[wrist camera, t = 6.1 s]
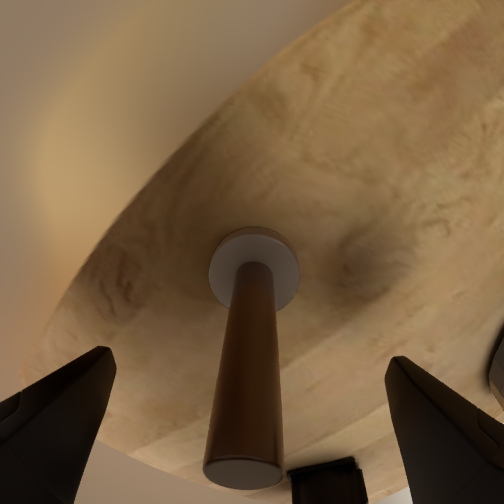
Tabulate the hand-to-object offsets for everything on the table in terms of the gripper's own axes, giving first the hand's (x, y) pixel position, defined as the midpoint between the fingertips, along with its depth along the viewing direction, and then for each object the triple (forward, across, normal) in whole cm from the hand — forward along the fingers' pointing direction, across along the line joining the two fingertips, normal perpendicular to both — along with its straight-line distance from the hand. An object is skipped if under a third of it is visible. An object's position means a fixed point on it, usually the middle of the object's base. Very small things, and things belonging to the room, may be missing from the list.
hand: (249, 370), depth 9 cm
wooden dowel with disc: (+8, 0, 0) cm, 8 cm away
